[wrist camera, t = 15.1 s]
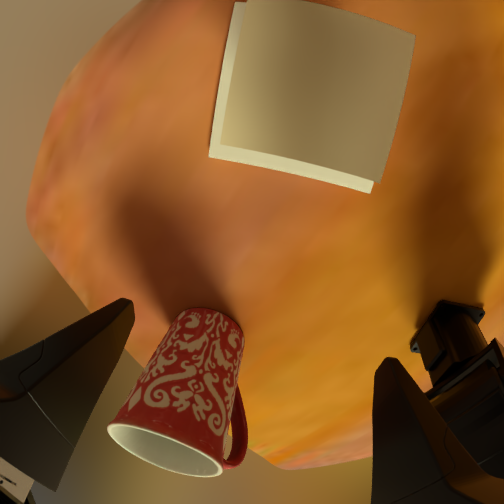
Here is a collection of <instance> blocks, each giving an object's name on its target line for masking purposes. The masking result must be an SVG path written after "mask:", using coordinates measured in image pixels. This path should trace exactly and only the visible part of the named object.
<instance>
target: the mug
mask: <svg viewBox="0 0 504 504" xmlns="http://www.w3.org/2000/svg"><path fill="white" fill-rule="evenodd" d="M243 349H244V336H243V333H242V331H241V330H240V328H239V326H238V325H237V324H236V323H235V322H234V321H233V320H231V319H230V318H229V317H227V316H226V315H224V314H222V313H220V312H217V311H215V310H211V309H206V308H192V309H188V310H185V311H183V312H181V313H180V314H179V315H178V316H177V317H176V319H175V320H174V322H173V323H172V325H171V326H170V328H169V330H168V332H167V333H166V335H165V337H164V338H163V340H162V341H161V343H160V344H159V345H158V347H157V349H156V351H155V352H154V354H153V355H152V357H151V359H150V360H149V362H148V364H147V366H146V367H145V369H144V371H143V372H142V374H141V376H140V377H139V379H138V381H137V382H136V384H135V385H134V387H133V389H132V390H131V392H130V394H129V395H128V397H127V399H126V401H125V402H124V404H123V406H122V408H121V409H120V411H119V412H118V414H117V416H116V418H115V419H114V420H113V421H112V422H110V423H109V424H108V426H107V430H108V433H109V434H110V436H111V437H112V438H113V439H114V440H115V441H116V442H117V443H118V444H119V445H120V446H122V447H123V448H124V449H126V450H127V451H129V452H130V453H132V454H134V455H136V456H137V457H139V458H141V459H143V460H145V461H147V462H149V463H151V464H153V465H156V466H158V467H161V468H163V469H166V470H169V471H172V472H176V473H180V474H184V475H191V476H197V477H213V476H218V475H220V474H222V472H223V469H231V468H235V467H237V466H239V465H240V464H241V462H242V461H243V459H244V457H245V454H246V449H247V444H248V428H247V421H246V416H245V410H244V406H243V402H242V398H241V394H240V390H239V387H238V384H237V381H238V375H239V370H240V364H241V359H242V355H243ZM230 420H231V426H232V449H231V452H230V455H229V457H228V459H227V460H225V459H224V458H223V455H224V450H225V445H226V440H227V435H228V429H229V424H230Z"/></svg>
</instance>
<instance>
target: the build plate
mask: <svg viewBox="0 0 504 504" xmlns="http://www.w3.org/2000/svg"><path fill="white" fill-rule="evenodd" d="M246 4H247V2H235V5H234V9H233V14H232V19H231V24H230V29H229V34H228V39H227V44H226V49H225V54H224V60H223V65H222V71H221V77H220V83H219V89H218V95H217V101H216V108H215V114H214V121H213V128H212V135H211V142H210V149H209V157H211V158H217V159H223V160H228V161H234V162H239V163H244V164H250V165H255V166H260V167H264V168H269V169H274V170H279V171H283V172H288V173H292V174H296V175H301V176H305V177H309V178H313V179H317V180H321V181H325V182H329V183H333V184H337V185H340V186H344V187H348V188H351V189H355V190H359V191H362V192H366V193H369V194H370V192H371V189H372V186H373V183H374V181H371V180H368V179H364V178H361V177H358V176H354V175H351V174H347V173H344V172H340V171H337V170H333V169H329V168H326V167H322V166H318V165H314V164H310V163H306V162H302V161H298V160H294V159H290V158H285V157H281V156H276V155H272V154H267V153H262V152H258V151H253V150H248V149H242V148H237V147H232V146H226V145H221V144H220V141H221V134H222V128H223V122H224V116H225V110H226V104H227V99H228V93H229V87H230V82H231V76H232V71H233V66H234V61H235V56H236V51H237V46H238V41H239V36H240V31H241V26H242V22H243V17H244V13H245V8H246Z"/></svg>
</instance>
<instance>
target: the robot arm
mask: <svg viewBox="0 0 504 504" xmlns="http://www.w3.org/2000/svg"><path fill="white" fill-rule="evenodd" d="M441 306H442V307H441ZM484 315H485V311H484V310H483V309H482V308H478V307H473V306H468V305H464V304H459V303H454V302H450V301H445V300H442V301H440V302H439V303H438V304H437V306H436V307H435V309H434V311H433V312H432V314H431V315H430V317H429V319H428V320H427V322H426V323H425V325H424V326H423V328H422V330H421V331H420V333H419V334H418V336H417V337H416V338H415V340H414V341H413V343H412V344H411V346H410V350H411V352H415V353H421V357H422V360H423V363H424V366H425V370H426V371H428V372H429V375H430V378H431V382H432V385H433V388H431V389H430V390H428V391H427V392H425V393H423V392H422V390H421V389H420V388H419V386H418V385H417V384H416V382H415V381H414V380H413V378H412V377H411V376H410V374H409V373H408V372H407V370H406V369H405V368H404V367H403V365H402V364H401V363H400V361H399V360H398V359H397V358H393V357H386V358H385V359H384V360H383V362H382V363H381V364H380V366H379V367H378V369H377V370H376V372H375V376H374V394H373V409H372V423H373V470H372V495H371V504H504V347H503V346H502V345H501V344H500V343H499V341H498V340H497V339H496V338H494V339H493V340H492V341H491V343H490V344H489V345H488V344H487V342H486V340H485V338H484V336H483V334H482V332H481V330H480V328H479V326H478V324H479V322H480V321H481V319H482V318H483V316H484ZM134 322H135V313H134V305H133V302H132V301H131V300H129V299H126V298H120V299H118V300H116V301H114V302H112V303H110V304H108V305H107V306H105V307H103V308H101V309H99V310H97V311H95V312H93V313H92V314H90V315H88V316H86V317H84V318H82V319H80V320H78V321H77V322H75V323H73V324H71V325H69V326H67V327H65V328H64V329H62V330H60V331H58V332H56V333H54V334H53V335H51V336H49V337H47V338H46V339H45V340H41V341H40V342H38V343H36V344H34V345H32V346H30V347H28V348H26V349H24V350H22V351H20V352H18V353H16V354H14V355H11V356H9V357H6V358H4V359H2V360H0V504H36V503H35V501H34V498H33V495H32V492H31V490H30V488H31V486H32V484H33V482H34V480H35V481H37V482H38V483H40V484H42V485H43V486H45V487H47V488H49V489H50V490H52V491H54V492H56V490H57V488H58V486H59V483H60V481H61V478H62V476H63V474H64V471H65V469H66V467H67V465H68V462H69V460H70V458H71V456H72V453H73V451H74V448H75V447H76V444H77V442H78V440H79V438H80V436H81V434H82V432H83V429H84V427H85V425H86V423H87V421H88V419H89V417H90V415H91V413H92V411H93V409H94V407H95V405H96V403H97V401H98V399H99V397H100V394H101V393H102V391H103V389H104V387H105V385H106V383H107V381H108V379H109V377H110V376H111V374H112V372H113V370H114V368H115V366H116V364H117V363H118V361H119V358H120V356H121V354H122V351H123V349H124V347H125V344H126V342H127V339H128V337H129V334H130V332H131V329H132V327H133V325H134Z"/></svg>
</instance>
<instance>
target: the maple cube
mask: <svg viewBox="0 0 504 504" xmlns="http://www.w3.org/2000/svg"><path fill="white" fill-rule="evenodd" d="M415 38H416V36H415V35H413V34H411V33H409V32H406V31H404V30H401V29H399V28H396V27H394V26H391V25H389V24H386V23H383V22H380V21H378V20H375V19H372V18H369V17H366V16H362V15H359V14H356V13H353V12H349V11H346V10H342V9H338V8H334V7H331V6H326V5H322V4H318V3H313V2H308V1H303V0H247V4H246V8H245V13H244V17H243V22H242V26H241V31H240V36H239V41H238V46H237V51H236V56H235V61H234V66H233V71H232V76H231V82H230V87H229V93H228V99H227V104H226V110H225V116H224V122H223V128H222V134H221V141H220V144H221V145H226V146H232V147H237V148H242V149H248V150H253V151H258V152H262V153H267V154H272V155H276V156H281V157H285V158H290V159H294V160H298V161H302V162H306V163H310V164H314V165H318V166H322V167H326V168H329V169H333V170H337V171H340V172H344V173H347V174H351V175H354V176H358V177H361V178H364V179H368V180H371V181H374V182H377V183H380V181H381V178H382V175H383V172H384V168H385V165H386V162H387V158H388V155H389V152H390V148H391V145H392V141H393V138H394V134H395V130H396V127H397V123H398V119H399V115H400V111H401V107H402V103H403V98H404V94H405V90H406V85H407V81H408V76H409V71H410V66H411V61H412V56H413V50H414V44H415Z"/></svg>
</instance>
